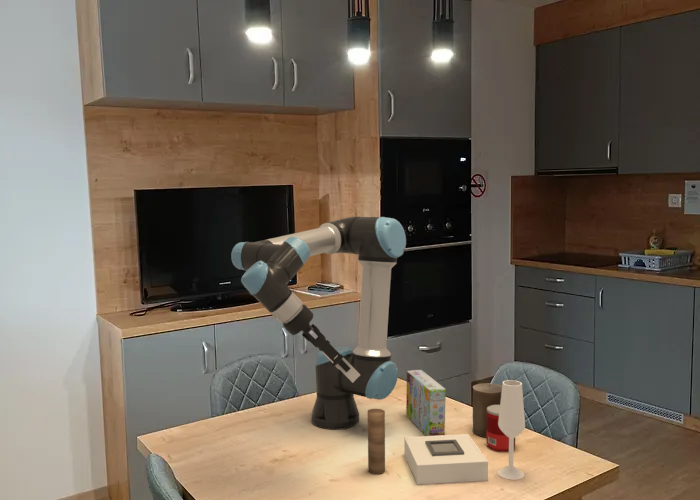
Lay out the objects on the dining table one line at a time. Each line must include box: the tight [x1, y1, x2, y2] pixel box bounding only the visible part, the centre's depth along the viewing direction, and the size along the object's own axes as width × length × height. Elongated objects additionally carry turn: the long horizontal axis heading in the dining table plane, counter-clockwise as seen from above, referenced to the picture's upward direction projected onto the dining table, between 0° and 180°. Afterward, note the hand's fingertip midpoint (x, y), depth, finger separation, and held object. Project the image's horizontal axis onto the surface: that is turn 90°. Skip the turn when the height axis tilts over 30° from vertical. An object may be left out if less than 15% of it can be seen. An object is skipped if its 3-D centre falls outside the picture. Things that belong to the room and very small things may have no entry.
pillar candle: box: [472, 382, 502, 438], centre depth 195 cm, size 10×10×15 cm
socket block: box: [403, 433, 489, 485], centre depth 172 cm, size 18×18×6 cm
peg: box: [367, 408, 386, 476], centre depth 170 cm, size 4×4×16 cm
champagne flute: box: [497, 379, 526, 481], centre depth 167 cm, size 7×7×24 cm
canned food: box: [485, 405, 516, 453], centre depth 185 cm, size 8×8×11 cm
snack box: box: [405, 369, 447, 436], centre depth 200 cm, size 21×6×15 cm, turn 14°
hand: (349, 371), depth 167 cm, fingers open, 13 cm apart
